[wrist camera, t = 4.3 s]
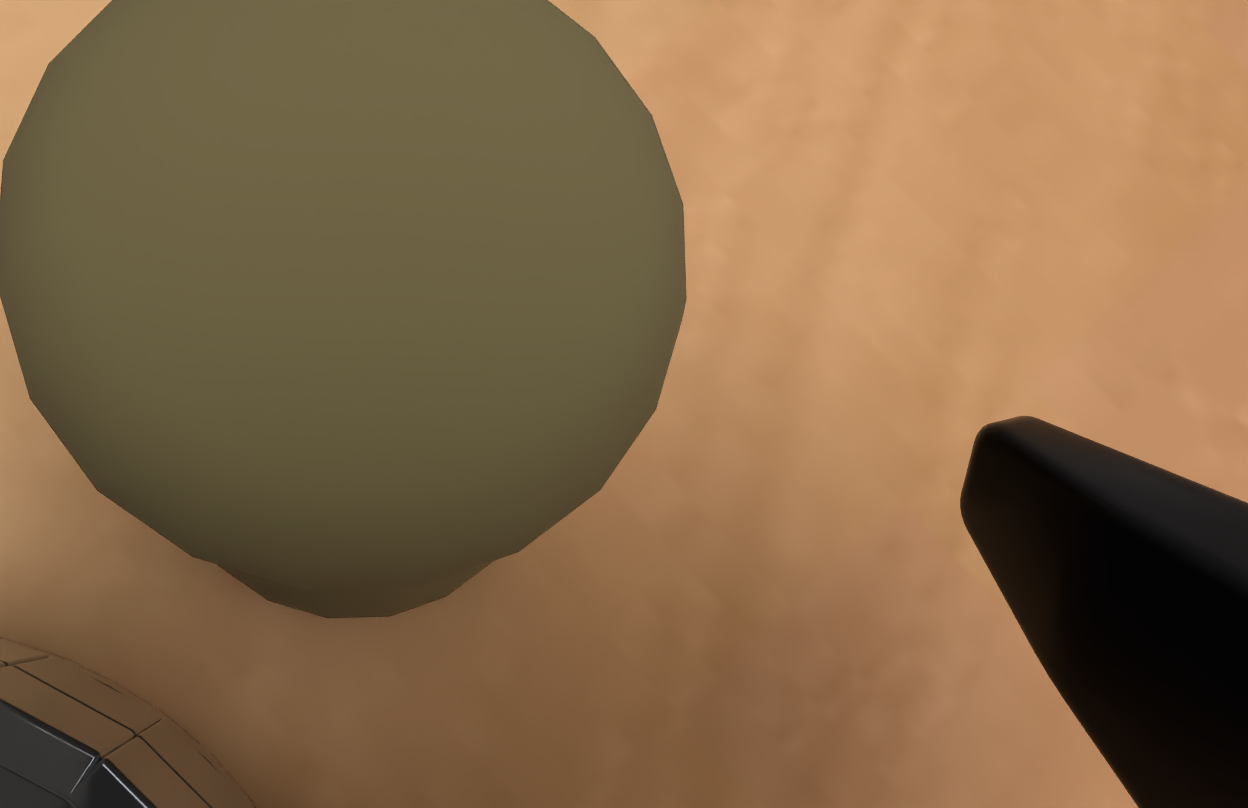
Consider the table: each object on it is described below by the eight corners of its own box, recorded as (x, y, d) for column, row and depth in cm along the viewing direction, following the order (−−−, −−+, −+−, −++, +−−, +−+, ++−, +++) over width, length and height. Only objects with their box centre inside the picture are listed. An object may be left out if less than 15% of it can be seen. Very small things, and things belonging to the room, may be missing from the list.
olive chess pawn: (96, 344, 17) (-345, -74, 6) (445, 199, 18) (559, -321, 8) (269, 691, 16) (114, 863, 6) (606, 510, 18) (944, 398, 8)
